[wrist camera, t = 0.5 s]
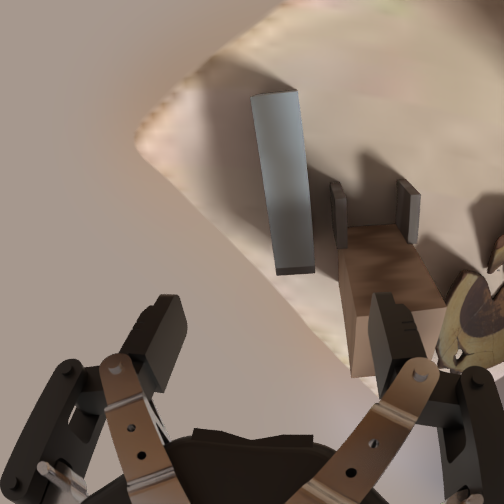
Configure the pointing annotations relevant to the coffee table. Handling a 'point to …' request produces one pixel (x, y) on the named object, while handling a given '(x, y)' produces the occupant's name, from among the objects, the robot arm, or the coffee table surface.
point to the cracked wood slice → (473, 320)
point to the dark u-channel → (383, 274)
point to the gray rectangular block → (285, 180)
